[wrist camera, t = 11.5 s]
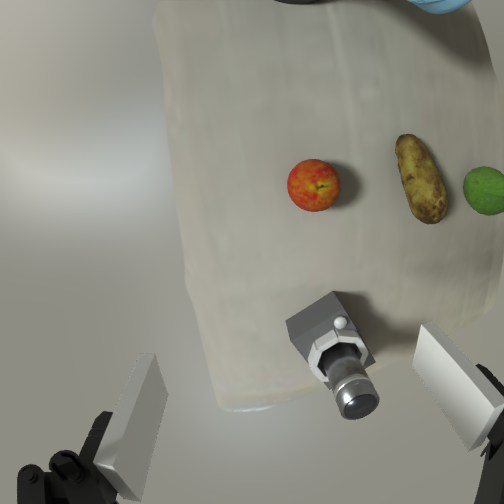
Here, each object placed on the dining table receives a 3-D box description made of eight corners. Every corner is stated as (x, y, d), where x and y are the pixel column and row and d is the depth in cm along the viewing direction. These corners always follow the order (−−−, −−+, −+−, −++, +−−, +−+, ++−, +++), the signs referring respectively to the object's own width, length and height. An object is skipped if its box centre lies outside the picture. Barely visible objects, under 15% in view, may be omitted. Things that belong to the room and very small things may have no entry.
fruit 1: (321, 213, 43) (337, 225, 36) (277, 197, 43) (284, 206, 35) (338, 169, 42) (357, 172, 34) (293, 152, 41) (304, 150, 33)
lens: (319, 368, 45) (338, 424, 33) (320, 341, 43) (343, 397, 31) (350, 363, 45) (376, 416, 33) (354, 336, 43) (383, 388, 31)
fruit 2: (481, 208, 44) (525, 223, 32) (453, 209, 44) (498, 224, 32) (483, 166, 41) (528, 173, 30) (454, 162, 41) (501, 169, 30)
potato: (431, 140, 40) (461, 140, 33) (426, 217, 44) (454, 229, 36) (388, 132, 40) (415, 129, 32) (384, 214, 44) (409, 226, 36)
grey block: (285, 320, 48) (292, 348, 41) (332, 290, 47) (347, 314, 40) (322, 368, 52) (332, 397, 44) (364, 342, 51) (379, 369, 43)
